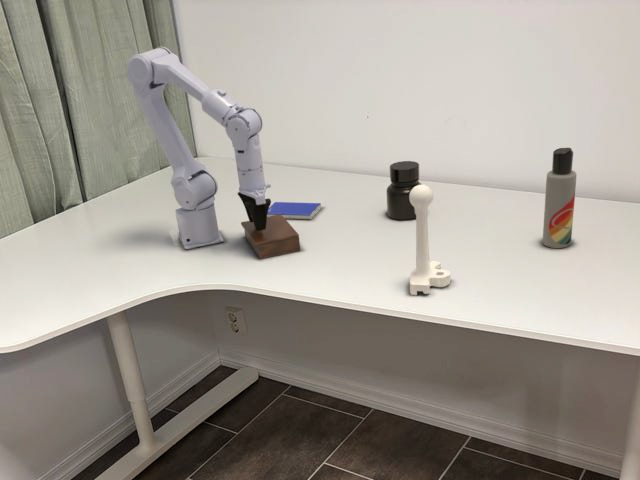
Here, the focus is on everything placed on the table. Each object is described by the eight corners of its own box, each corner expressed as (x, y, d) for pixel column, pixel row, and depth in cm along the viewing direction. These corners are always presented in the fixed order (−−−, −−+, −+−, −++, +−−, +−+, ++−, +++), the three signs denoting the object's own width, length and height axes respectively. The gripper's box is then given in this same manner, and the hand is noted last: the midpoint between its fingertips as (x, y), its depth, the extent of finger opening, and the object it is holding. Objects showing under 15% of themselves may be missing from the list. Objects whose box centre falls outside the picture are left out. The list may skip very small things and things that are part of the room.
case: (260, 259, 174) (258, 245, 172) (245, 237, 186) (243, 224, 185) (300, 250, 175) (299, 237, 174) (283, 229, 188) (281, 216, 186)
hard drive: (263, 212, 195) (310, 213, 191) (275, 201, 202) (320, 202, 197) (264, 218, 196) (310, 220, 192) (276, 207, 202) (321, 208, 198)
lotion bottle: (572, 248, 161) (580, 152, 150) (543, 248, 162) (549, 153, 152) (569, 237, 165) (577, 144, 155) (541, 238, 167) (547, 145, 157)
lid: (255, 245, 172) (253, 228, 170) (241, 224, 184) (238, 207, 182) (299, 236, 174) (297, 219, 172) (281, 216, 186) (279, 199, 184)
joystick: (419, 270, 159) (416, 175, 149) (455, 272, 157) (455, 175, 147) (405, 294, 151) (401, 195, 141) (444, 297, 148) (443, 196, 138)
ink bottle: (426, 219, 183) (426, 169, 177) (389, 223, 184) (387, 173, 178) (421, 205, 192) (420, 157, 186) (385, 209, 192) (383, 161, 186)
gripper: (275, 172, 165) (282, 232, 172) (259, 156, 178) (266, 212, 184) (243, 178, 164) (252, 238, 171) (229, 161, 176) (238, 218, 183)
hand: (257, 225), depth 178 cm, fingers closed on lid, 5 cm apart
